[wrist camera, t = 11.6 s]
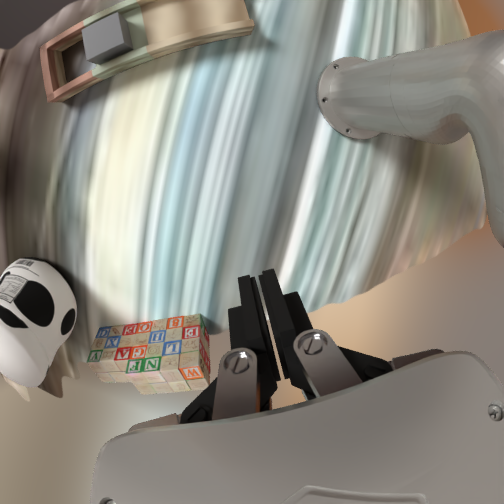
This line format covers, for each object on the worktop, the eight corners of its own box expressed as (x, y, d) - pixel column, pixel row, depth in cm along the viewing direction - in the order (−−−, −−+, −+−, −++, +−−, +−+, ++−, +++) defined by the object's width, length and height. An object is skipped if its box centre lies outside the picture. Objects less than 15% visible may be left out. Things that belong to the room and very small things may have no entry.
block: (127, 21, 22) (117, 11, 19) (133, 49, 25) (124, 42, 21) (93, 36, 22) (81, 29, 19) (99, 65, 25) (86, 60, 21)
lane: (235, -17, 23) (237, -29, 19) (250, 34, 27) (254, 25, 24) (53, 51, 23) (39, 47, 19) (62, 102, 27) (48, 102, 24)
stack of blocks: (112, 348, 49) (98, 395, 38) (99, 326, 46) (80, 374, 35) (210, 336, 50) (210, 389, 39) (201, 312, 47) (199, 366, 36)
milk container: (55, 334, 46) (26, 397, 30) (4, 276, 38) (-41, 331, 22) (99, 304, 44) (65, 381, 28) (38, 232, 36) (-23, 291, 20)
